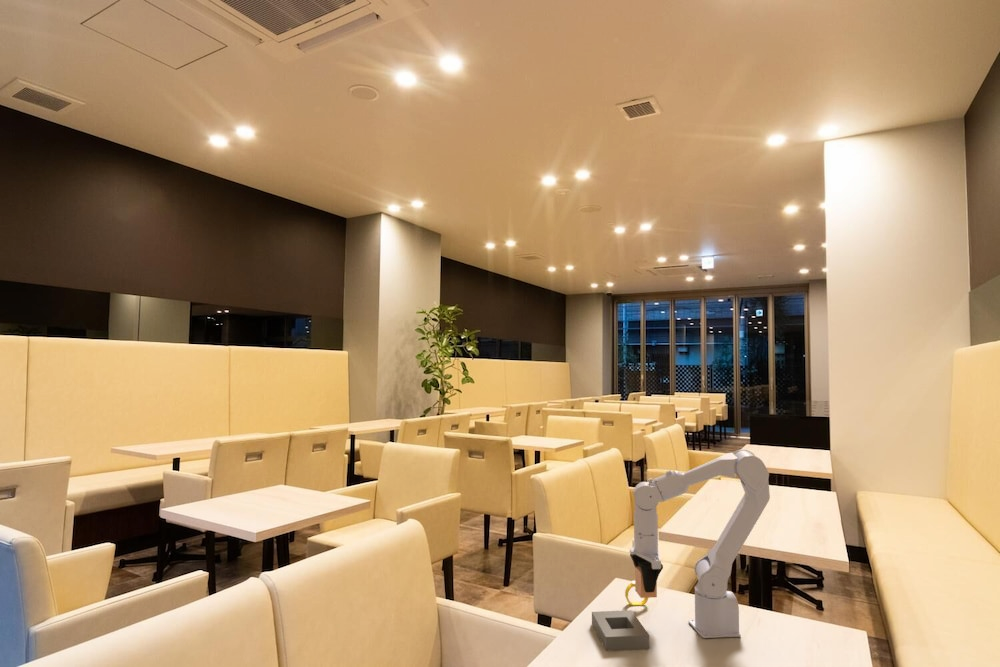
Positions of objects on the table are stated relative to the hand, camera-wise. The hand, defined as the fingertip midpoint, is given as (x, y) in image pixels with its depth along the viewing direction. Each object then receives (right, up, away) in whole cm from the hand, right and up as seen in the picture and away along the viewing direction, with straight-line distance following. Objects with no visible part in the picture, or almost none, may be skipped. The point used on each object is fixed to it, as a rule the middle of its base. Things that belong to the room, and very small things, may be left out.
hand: (646, 587), depth 134 cm
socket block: (-8, -8, -7) cm, 13 cm away
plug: (0, -2, 0) cm, 2 cm away
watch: (0, -9, +9) cm, 13 cm away
